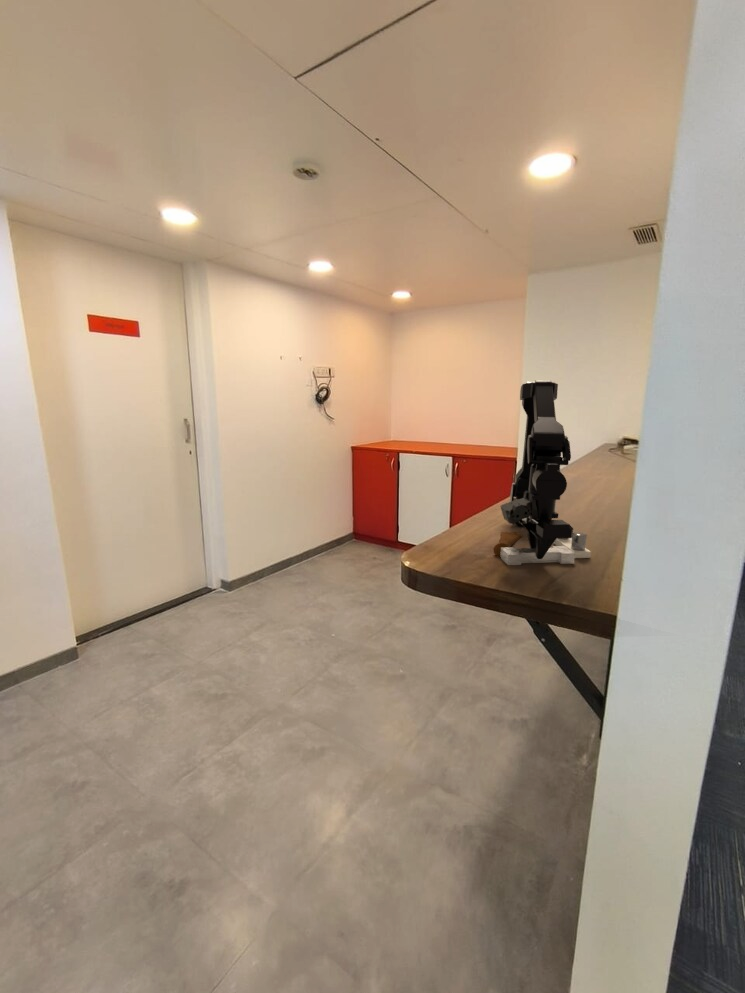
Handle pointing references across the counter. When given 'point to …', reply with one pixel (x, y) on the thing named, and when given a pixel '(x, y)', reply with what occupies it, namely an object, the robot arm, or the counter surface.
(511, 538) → the primitive tool
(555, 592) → the counter surface
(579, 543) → the peg rack
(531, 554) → the spanner
